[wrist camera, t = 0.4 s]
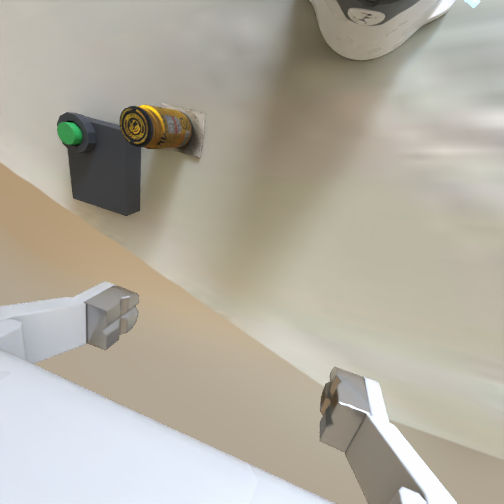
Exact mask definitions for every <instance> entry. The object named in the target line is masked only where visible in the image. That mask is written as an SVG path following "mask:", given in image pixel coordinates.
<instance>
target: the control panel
mask: <svg viewBox="0 0 504 504" xmlns="http://www.w3.org/2000/svg"><path fill="white" fill-rule="evenodd" d="M61 122H72V123H75V124H77V125H78V126H79V128H80V129H81V131H82V137H83V139H82V142H81V143H80V144H75V145H68V144H65V143H64V142H63V141H62V140H61V141H62V143H63V144H64V145H65V146H66V147H67V148H68V157H69V166H70V175H71V184H72V193H73V198H74V199H77V200H80V201H83V202H86V203H89V204H92V205H95V206H98V207H101V208H104V209H107V210H110V211H113V212H116V213H119V214H122V215H125V216H128V215H130V214H133V213H135V212H138V211H140V166H141V147H136V146H133V145H131V144H130V143H129V142H128V141H126V140H125V138H124V136H123V135H122V133H121V129H120V126H119V125H115V124H111V123H108V122H104V121H100V120H97V119H93V118H90V117H86V116H84V115H81V114H77V113H69V112H66V113H64V114H63V115H61V116H60V117H59V120H58V123H57V127H58V125H59V123H61Z"/></svg>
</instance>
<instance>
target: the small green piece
mask: <svg viewBox="0 0 504 504" xmlns="http://www.w3.org/2000/svg"><path fill="white" fill-rule="evenodd" d="M57 131H58V135H59V137H60V139H61V140H62V141H63V142H64V143H65V144H68V145H75V144H80V143H81V142H82V139H83V137H82V131H81V129H80V128H79V126H78V125H77V124H75V123H72V122H61V123H59V125H58V128H57Z"/></svg>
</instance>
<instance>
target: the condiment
mask: <svg viewBox="0 0 504 504" xmlns="http://www.w3.org/2000/svg"><path fill="white" fill-rule="evenodd" d="M205 117H206V114H205V113H201V112H197V111H192V110H188V109H184V108H180V107H176V106H172V105H167V104H163V103H162V107H155V106H148V105H142V106H138V107H136V106H130V107H128V108H125V109H124V110H123V111H122V113H121V116H120V129H121V133H122V135H123V136H124V138H125V140H126V141H128V142H129V143H130V144H131V145H133V146H136V147H145V148H148V149H160V148H167V149H171V150H175V151H178V152H182V153H186V154H189V155H193V156H196V157H200V158H201V153H202V144H203V136H204V126H205Z"/></svg>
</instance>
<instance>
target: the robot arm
mask: <svg viewBox="0 0 504 504" xmlns="http://www.w3.org/2000/svg"><path fill="white" fill-rule="evenodd" d="M309 1H310V2H311V3H312V5H313V6H314V9H315V12H316V16H317V21H318V25H319V28H320V31H321V33H322V35H323V37H324V39H325V41H326V42H327V44H328V45H329V46H330V47H331V48H332V49H333V50H334V51H335V52H337V53H338V54H340V55H341V56H344V57H346V58H349V59H353V60H369V59H374V58H378V57H380V56H383V55H385V54H387V53H389V52H391V51H393V50H394V49H396V48H397V47H399V46H400V45H401V44H403V43H404V42H405V41H406V40H407V39H408V38H409V37H410V36H411V35H412V34H413V33H414V32H416V31H417V30H418V29H419V28H420V27H421V26H423V25H425V24H427V23H429V22H431V21H433V20H435V19H437V18H439V17H441V16H442V15H444V14H445V13H447V12H448V11H449V9H450V8H451V7H452V5H453V3H454V2H455V0H309ZM464 1H466V2H467V3H468V4H469V5H471V6H472V7H473V8H474V7H475V6H476V5H477V4H478V3H479V2H480V1H479V0H464ZM138 303H139V295H138V294H137V293H135V292H132V291H130V290H128V289H125V288H122V287H120V286H117V285H115V284H112V283H109V282H102V283H100V284H98V285H96V286H94V287H92V288H90V289H88V290H86V291H84V292H82V293H80V294H78V295H76V296H74V297H72V298H70V297H63V298H56V299H48V300H42V301H35V302H27V303H20V304H13V305H7V306H0V504H335V503H333V502H331V501H329V500H327V499H325V498H322V497H320V496H318V495H316V494H314V493H312V492H309V491H307V490H305V489H303V488H301V487H299V486H296V485H294V484H292V483H290V482H288V481H286V480H283V479H281V478H279V477H277V476H275V475H273V474H270V473H268V472H266V471H264V470H262V469H260V468H257V467H255V466H253V465H251V464H249V463H246V462H244V461H242V460H240V459H238V458H236V457H234V456H231V455H229V454H227V453H225V452H223V451H220V450H218V449H216V448H214V447H212V446H210V445H207V444H205V443H203V442H201V441H199V440H197V439H194V438H192V437H190V436H188V435H186V434H184V433H181V432H179V431H177V430H175V429H173V428H170V427H168V426H166V425H164V424H162V423H160V422H158V421H155V420H153V419H151V418H149V417H147V416H145V415H142V414H140V413H138V412H136V411H134V410H132V409H129V408H127V407H125V406H123V405H121V404H119V403H116V402H114V401H112V400H110V399H108V398H105V397H103V396H101V395H99V394H97V393H95V392H93V391H90V390H88V389H86V388H84V387H81V386H79V385H77V384H75V383H73V382H71V381H69V380H66V379H64V378H62V377H60V376H58V375H55V374H54V373H51V372H49V371H47V370H45V369H43V368H40V367H38V366H36V365H34V363H36V362H39V361H42V360H44V359H47V358H50V357H53V356H55V355H58V354H61V353H63V352H66V351H69V350H72V349H75V348H77V347H80V346H83V345H85V344H86V343H88V344H90V345H93V346H96V347H99V348H101V349H104V350H107V349H108V348H109V347H110V346H112V345H113V344H114V343H115V342H116V341H118V339H119V335H121V334H124V333H127V332H128V331H130V330H131V329H132V328H133V326H134V325H135V323H136V321H137V318H138V310H137V308H136V305H137V304H138ZM320 412H321V413H322V415H323V417H322V419H321V421H320V441H321V442H323V443H325V444H327V445H329V446H331V447H334V448H336V449H339V450H340V451H343V452H345V455H346V457H347V460H348V461H349V464H350V466H351V468H352V470H353V472H354V474H355V477H356V479H357V481H358V483H359V485H360V487H361V489H362V491H363V493H364V496H365V497H366V500H367V502H368V504H457V502H456V501H455V500H454V499H453V497H452V496H451V495H450V494H449V492H448V491H447V490H446V489H445V487H444V486H443V485H442V484H441V482H440V481H439V480H438V479H437V477H436V476H435V475H434V474H433V473H432V471H431V470H430V469H429V468H428V466H427V465H426V464H425V463H424V461H423V460H422V459H421V458H420V456H419V455H418V454H417V453H416V451H415V450H414V449H413V448H412V446H411V445H410V444H409V443H408V442H407V440H406V439H405V438H404V437H403V435H402V434H401V433H400V432H399V430H398V429H397V428H396V427H395V425H393V424H391V423H389V419H388V416H387V412H386V408H385V404H384V400H383V397H382V393H381V389H380V385H379V383H378V382H377V381H375V380H372V379H369V378H366V377H362V376H359V375H356V374H354V373H351V372H348V371H345V370H343V369H340V368H337V367H334V368H333V369H332V371H331V373H330V382H328V383H326V384H325V387H324V389H323V393H322V396H321V403H320Z"/></svg>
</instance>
